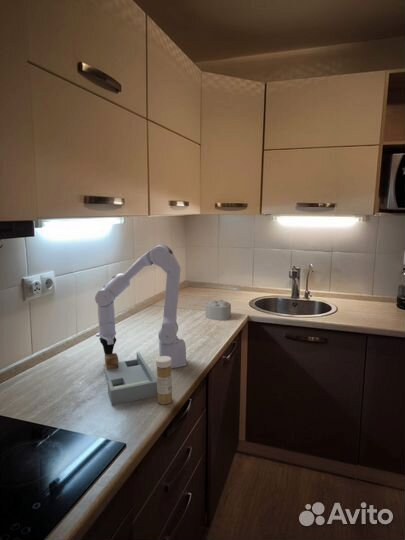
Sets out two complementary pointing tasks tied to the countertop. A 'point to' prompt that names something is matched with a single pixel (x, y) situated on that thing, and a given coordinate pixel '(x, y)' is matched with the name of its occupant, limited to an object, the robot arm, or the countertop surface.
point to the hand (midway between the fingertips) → (108, 356)
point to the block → (111, 361)
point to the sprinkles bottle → (164, 379)
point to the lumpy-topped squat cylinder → (218, 310)
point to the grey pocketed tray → (130, 381)
